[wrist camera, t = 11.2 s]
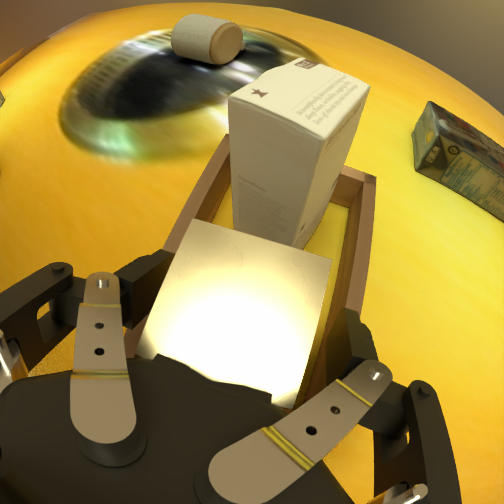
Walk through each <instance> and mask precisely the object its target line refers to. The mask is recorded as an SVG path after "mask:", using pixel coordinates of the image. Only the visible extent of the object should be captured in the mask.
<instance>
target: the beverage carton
mask: <svg viewBox="0 0 504 504" xmlns="http://www.w3.org/2000/svg"><path fill="white" fill-rule="evenodd" d="M412 139H413V148H414V159H415V170H416V171H417V172H420V173H422V174H424V175H426V176H428V177H430V178H432V179H434V180H435V181H437V182H439V183H441V184H442V185H444V186H446V187H448V188H449V189H451V190H453V191H455V192H457V193H459V194H460V195H462V196H464V197H466V198H467V199H469V200H471V201H472V202H474V203H475V204H477V205H479V206H481V207H482V208H484V209H486V210H487V211H489V212H490V213H492V214H494V215H495V216H496V217H498V218H499V219H501V220H502V221H504V148H503V147H501V146H500V145H499V144H497V143H496V142H495V141H493V140H492V139H491V138H489V137H487V136H486V135H485V134H483V133H482V132H480V131H479V130H477V129H476V128H475V127H473V126H472V125H470V124H468V123H467V122H465V121H464V120H462V119H460V118H459V117H457V116H455V115H454V114H452V113H450V112H449V111H447V110H446V109H444V108H442V107H440V106H439V105H437V104H435V103H434V102H432V101H428V103H427V105H426V107H425V109H424V111H423V113H422V115H421V116H420V118H419V120H418V122H417V123H416V126H415V129H414V131H413V132H412Z"/></svg>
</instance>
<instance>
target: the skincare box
mask: <svg viewBox="0 0 504 504" xmlns="http://www.w3.org/2000/svg"><path fill="white" fill-rule="evenodd" d="M369 90H370V86H369V85H368V84H366V83H365V82H363V81H361V80H359V79H357V78H355V77H352V76H350V75H348V74H345V73H343V72H340V71H338V70H335V69H333V68H330V67H327V66H325V65H322V64H319V63H316V62H313V61H310V60H307V59H305V58H298V59H296V60H294V61H292V62H290V63H288V64H286V65H283V66H279V67H276V68H273V69H270V70H268V71H266V72H265V73H263V74H262V75H261V76H260V77H259V78H258V79H256V80H255V81H253V82H251V83H250V84H248V85H246V86H244V87H243V88H241V89H239V90H238V91H236V92H234V93H232V94H231V95H230V96H229V98H228V120H229V144H230V166H231V187H232V206H233V224H234V230H236V231H239V232H243V233H246V234H249V235H253V236H256V237H260V238H263V239H266V240H270V241H273V242H276V243H280V244H283V245H286V246H290V247H293V248H296V249H299V250H302V249H303V248H304V246H305V245H306V244H307V242H308V241H309V239H310V238H311V236H312V235H313V233H314V231H315V230H316V228H317V227H318V225H319V223H320V221H321V220H322V218H323V215H324V213H325V210H326V208H327V205H328V203H329V201H330V198H331V196H332V193H333V191H334V188H335V186H336V183H337V180H338V178H339V176H340V173H341V170H342V168H343V165H344V163H345V160H346V157H347V155H348V152H349V149H350V147H351V144H352V141H353V138H354V135H355V133H356V130H357V127H358V124H359V120H360V117H361V114H362V111H363V108H364V105H365V102H366V99H367V96H368V93H369Z"/></svg>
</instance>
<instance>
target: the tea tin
mask: <svg viewBox="0 0 504 504" xmlns="http://www.w3.org/2000/svg"><path fill="white" fill-rule="evenodd" d="M331 262H332V259H329V258H326V257H322V256H319V255H316V254H313V253H309V252H306V251H303V250H299V249H296V248H293V247H290V246H286V245H283V244H280V243H276V242H273V241H270V240H266V239H263V238H260V237H256V236H253V235H249V234H246V233H243V232H239V231H236V230H232V229H229V228H225V227H222V226H219V225H215V224H212V223H208V222H205V221H201V220H198V219H194V218H193V219H192V221H191V223H190V225H189V227H188V229H187V231H186V233H185V235H184V237H183V239H182V241H181V244H180V246H179V248H178V250H177V252H176V254H175V257H174V259H173V261H172V263H171V265H170V268H169V270H168V272H167V274H166V277H165V279H164V281H163V284H162V286H161V288H160V291H159V293H158V295H157V298H156V300H155V303H154V305H153V307H152V310H151V312H150V315H149V317H148V320H147V322H146V325H145V327H144V330H143V333H142V335H141V338H140V340H139V343H138V346H137V348H136V351H135V354H136V355H138V356H140V357H142V358H146V359H152V360H153V358H154V357H155V356H156V355H157V353H160V354H162V355H164V356H166V357H169V358H171V359H174V360H176V361H178V362H181V363H183V364H185V365H187V366H188V367H190V368H191V369H193V370H195V371H196V372H198V373H199V374H201V375H203V376H204V377H206V378H207V379H209V380H212V381H217V382H224V383H231V384H238V385H245V386H248V387H251V388H254V389H258V390H261V391H265V392H268V393H272V394H273V395H272V400H271V403H273V404H275V405H277V406H280V407H284V408H288V409H293V406H294V403H295V400H296V397H297V394H298V391H299V388H300V384H301V381H302V378H303V375H304V371H305V368H306V364H307V361H308V357H309V354H310V350H311V347H312V343H313V339H314V336H315V332H316V328H317V324H318V320H319V316H320V312H321V308H322V304H323V299H324V295H325V291H326V286H327V282H328V277H329V272H330V267H331Z"/></svg>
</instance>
